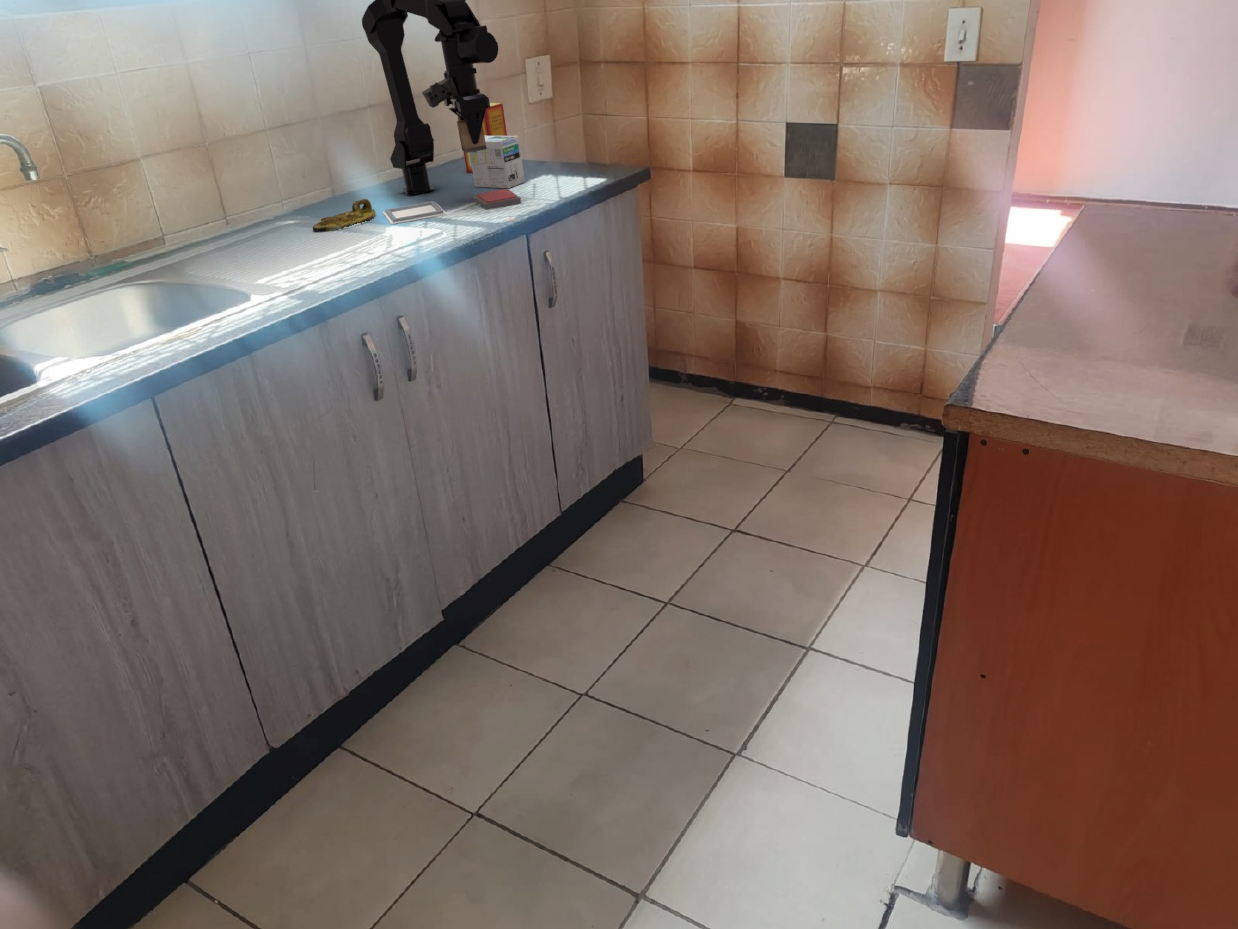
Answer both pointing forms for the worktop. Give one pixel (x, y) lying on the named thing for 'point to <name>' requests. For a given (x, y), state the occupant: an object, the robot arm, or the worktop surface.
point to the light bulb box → (498, 163)
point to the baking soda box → (490, 127)
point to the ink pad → (497, 199)
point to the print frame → (413, 212)
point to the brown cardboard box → (466, 139)
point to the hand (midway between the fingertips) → (473, 142)
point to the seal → (347, 217)
